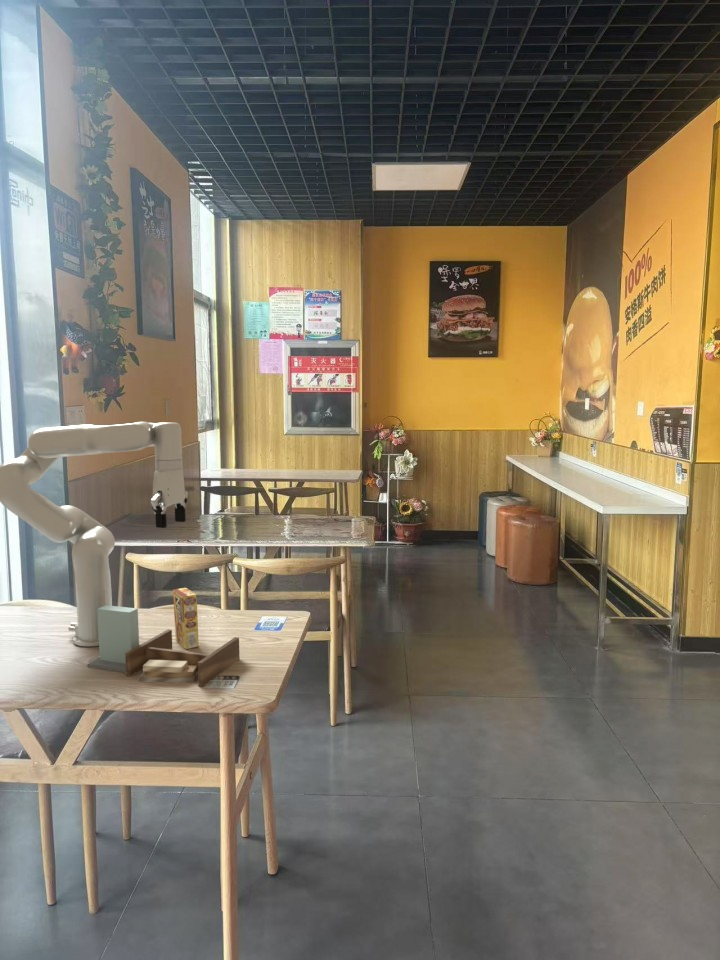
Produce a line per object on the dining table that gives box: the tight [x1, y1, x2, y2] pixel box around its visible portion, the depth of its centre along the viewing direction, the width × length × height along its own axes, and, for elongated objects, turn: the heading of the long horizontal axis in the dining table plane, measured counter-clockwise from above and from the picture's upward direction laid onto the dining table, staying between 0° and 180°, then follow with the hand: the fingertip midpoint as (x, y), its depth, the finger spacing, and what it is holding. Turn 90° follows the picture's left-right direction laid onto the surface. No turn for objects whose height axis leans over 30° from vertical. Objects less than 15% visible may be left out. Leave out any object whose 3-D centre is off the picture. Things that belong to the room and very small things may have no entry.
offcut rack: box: [125, 629, 241, 688], centre depth 187 cm, size 22×19×6 cm
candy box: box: [172, 587, 199, 650], centre depth 204 cm, size 9×4×15 cm, turn 33°
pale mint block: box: [97, 605, 140, 664], centre depth 190 cm, size 10×4×14 cm, turn 72°
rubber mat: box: [86, 656, 126, 673], centre depth 191 cm, size 13×10×1 cm
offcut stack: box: [137, 660, 198, 683], centre depth 181 cm, size 14×5×4 cm, turn 87°
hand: (171, 524), depth 208 cm, fingers open, 9 cm apart
